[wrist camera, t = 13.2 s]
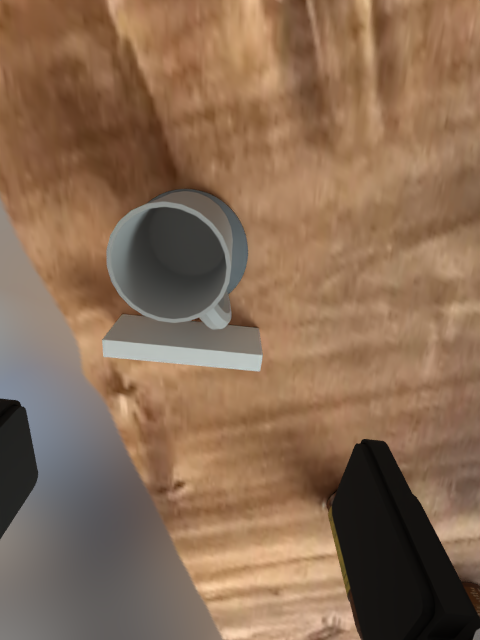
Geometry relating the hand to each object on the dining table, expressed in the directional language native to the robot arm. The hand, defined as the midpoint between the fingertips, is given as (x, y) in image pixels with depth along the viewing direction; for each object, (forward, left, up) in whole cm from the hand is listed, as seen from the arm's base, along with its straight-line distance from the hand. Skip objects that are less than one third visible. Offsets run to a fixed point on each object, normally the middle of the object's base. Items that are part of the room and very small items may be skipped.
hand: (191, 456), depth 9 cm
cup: (-1, -2, -21) cm, 21 cm away
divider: (+7, -2, -21) cm, 22 cm away
